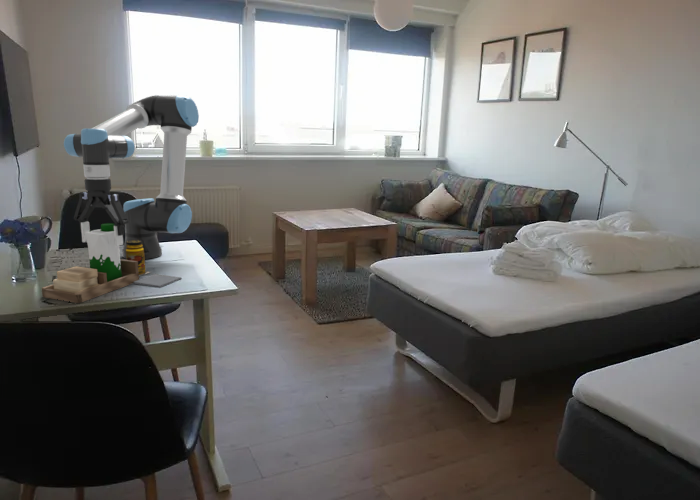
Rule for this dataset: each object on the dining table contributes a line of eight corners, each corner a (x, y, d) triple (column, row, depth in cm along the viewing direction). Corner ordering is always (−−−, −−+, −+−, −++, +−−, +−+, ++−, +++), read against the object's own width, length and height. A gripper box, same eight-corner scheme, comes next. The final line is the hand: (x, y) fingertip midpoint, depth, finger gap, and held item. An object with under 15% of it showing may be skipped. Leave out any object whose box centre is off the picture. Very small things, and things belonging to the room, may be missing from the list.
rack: (105, 276, 180) (104, 257, 178) (139, 281, 175) (137, 261, 173) (42, 297, 156) (40, 275, 155) (79, 303, 152) (76, 280, 150)
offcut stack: (75, 289, 165) (72, 265, 164) (100, 292, 163) (98, 268, 161) (53, 296, 158) (51, 272, 156) (80, 300, 155) (78, 275, 153)
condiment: (134, 277, 179) (132, 244, 177) (118, 273, 183) (116, 241, 181) (151, 272, 185) (149, 240, 183) (136, 269, 190) (133, 237, 187)
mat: (155, 275, 182) (155, 273, 182) (181, 278, 179) (181, 277, 178) (133, 283, 172) (133, 281, 172) (160, 287, 168) (160, 285, 168)
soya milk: (127, 282, 173) (122, 224, 168) (103, 289, 165) (98, 228, 160) (109, 278, 177) (104, 221, 172) (86, 285, 169) (80, 225, 164)
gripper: (57, 176, 163) (63, 241, 168) (120, 181, 155) (124, 249, 160) (77, 175, 170) (82, 238, 175) (137, 179, 162) (141, 244, 167)
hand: (102, 243), depth 167 cm, fingers open, 13 cm apart
